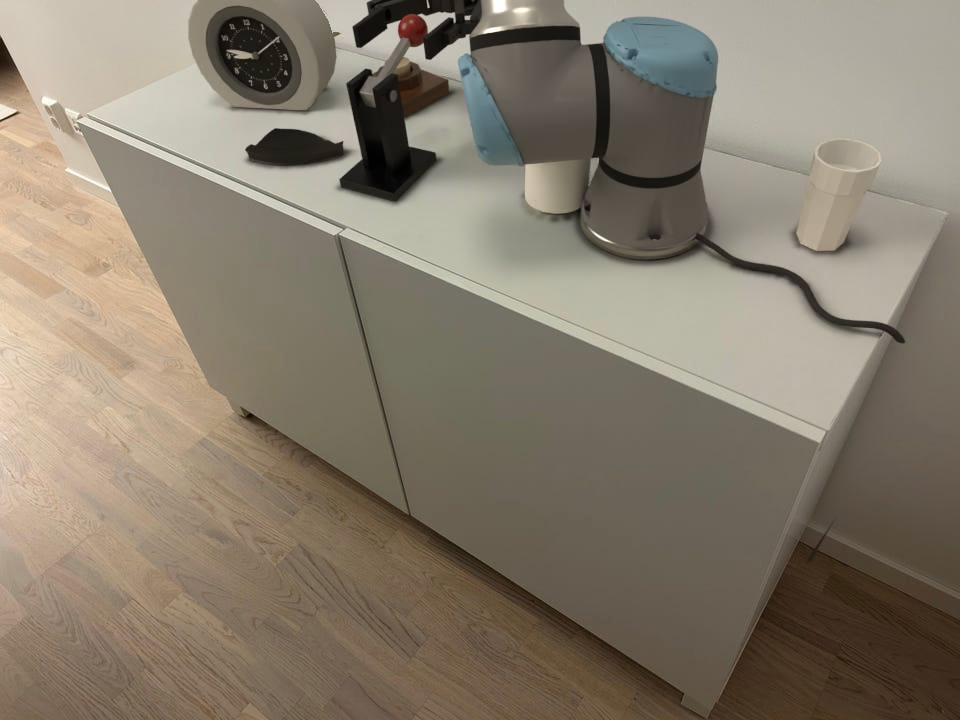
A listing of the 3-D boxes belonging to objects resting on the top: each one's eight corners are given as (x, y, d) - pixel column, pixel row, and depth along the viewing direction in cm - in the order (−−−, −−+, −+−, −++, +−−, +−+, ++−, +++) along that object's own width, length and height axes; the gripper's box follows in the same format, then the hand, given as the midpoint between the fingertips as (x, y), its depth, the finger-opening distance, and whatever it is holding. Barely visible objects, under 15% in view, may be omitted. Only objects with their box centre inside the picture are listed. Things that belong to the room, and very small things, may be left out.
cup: (794, 216, 88) (819, 134, 80) (853, 227, 85) (884, 144, 77) (785, 248, 84) (810, 165, 76) (846, 260, 81) (878, 176, 73)
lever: (411, 30, 98) (402, 5, 95) (436, 34, 97) (428, 9, 93) (362, 109, 94) (350, 85, 90) (387, 114, 93) (376, 91, 89)
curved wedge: (324, 174, 102) (321, 164, 101) (245, 160, 106) (242, 150, 105) (352, 144, 107) (350, 134, 106) (276, 132, 111) (273, 122, 110)
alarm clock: (210, 105, 118) (163, -23, 104) (230, 84, 123) (188, -42, 109) (329, 111, 114) (298, -22, 100) (346, 89, 119) (318, -41, 104)
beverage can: (557, 225, 89) (563, 134, 81) (511, 201, 94) (512, 112, 85) (599, 200, 93) (609, 111, 85) (554, 179, 98) (558, 92, 89)
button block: (449, 92, 116) (447, 68, 113) (404, 117, 111) (400, 93, 108) (400, 73, 122) (396, 49, 119) (355, 96, 117) (350, 72, 114)
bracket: (384, 148, 106) (367, 55, 95) (436, 160, 102) (424, 65, 92) (340, 187, 99) (317, 92, 89) (395, 201, 96) (377, 104, 86)
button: (416, 71, 114) (414, 60, 113) (397, 81, 112) (396, 70, 111) (399, 65, 116) (397, 54, 115) (381, 74, 114) (379, 63, 113)
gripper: (543, 16, 103) (470, 85, 90) (410, -2, 112) (326, 59, 99) (543, -41, 98) (465, 24, 85) (403, -55, 106) (313, 2, 93)
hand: (390, 43), depth 92 cm, fingers open, 10 cm apart
